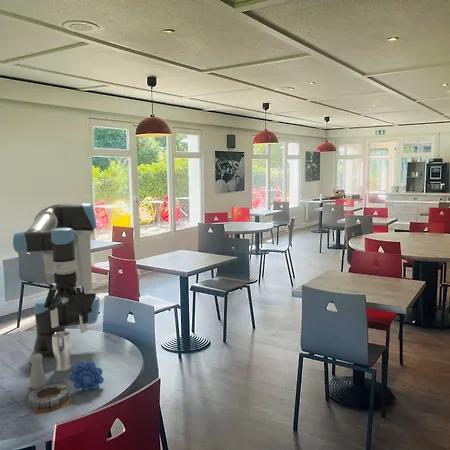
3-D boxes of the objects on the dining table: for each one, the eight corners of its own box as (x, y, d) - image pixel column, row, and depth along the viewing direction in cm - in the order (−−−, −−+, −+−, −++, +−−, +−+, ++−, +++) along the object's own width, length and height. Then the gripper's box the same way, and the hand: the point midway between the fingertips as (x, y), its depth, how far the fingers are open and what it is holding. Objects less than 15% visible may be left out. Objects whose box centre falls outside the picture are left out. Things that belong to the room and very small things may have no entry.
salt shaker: (33, 385, 169) (30, 351, 167) (49, 384, 169) (46, 350, 167) (27, 393, 163) (24, 358, 161) (44, 392, 163) (41, 357, 162)
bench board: (24, 399, 158) (24, 396, 158) (59, 388, 166) (59, 385, 166) (38, 419, 146) (37, 415, 146) (75, 406, 153) (75, 403, 153)
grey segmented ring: (25, 398, 157) (24, 390, 156) (61, 387, 164) (61, 379, 164) (35, 413, 147) (34, 404, 147) (74, 400, 154) (73, 392, 154)
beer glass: (76, 368, 182) (74, 331, 180) (65, 375, 176) (62, 338, 174) (62, 365, 185) (59, 330, 183) (50, 373, 178) (47, 336, 176)
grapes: (69, 400, 157) (67, 367, 155) (70, 391, 163) (68, 359, 162) (104, 395, 160) (102, 362, 159) (104, 386, 167) (102, 355, 165)
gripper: (30, 271, 164) (35, 328, 167) (85, 277, 153) (89, 337, 156) (47, 266, 171) (51, 321, 174) (100, 272, 160) (103, 330, 163)
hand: (69, 329), depth 165 cm, fingers open, 13 cm apart
